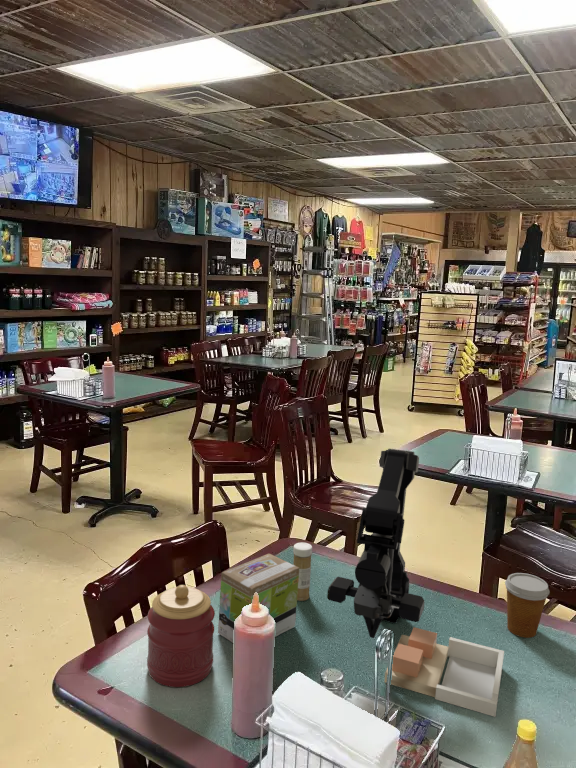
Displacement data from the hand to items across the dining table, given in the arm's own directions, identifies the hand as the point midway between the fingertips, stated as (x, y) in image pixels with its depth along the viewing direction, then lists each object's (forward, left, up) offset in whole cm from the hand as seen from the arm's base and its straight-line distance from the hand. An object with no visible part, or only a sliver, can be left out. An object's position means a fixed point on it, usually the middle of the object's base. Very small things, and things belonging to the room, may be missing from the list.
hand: (372, 636), depth 129 cm
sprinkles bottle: (-23, +19, -7) cm, 30 cm away
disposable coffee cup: (+28, +29, -7) cm, 41 cm away
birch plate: (+9, +3, -6) cm, 12 cm away
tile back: (+9, +7, -4) cm, 12 cm away
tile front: (+8, 0, -4) cm, 9 cm away
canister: (-34, -18, -7) cm, 39 cm away
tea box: (-26, +1, -7) cm, 27 cm away
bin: (+20, +3, -6) cm, 21 cm away
